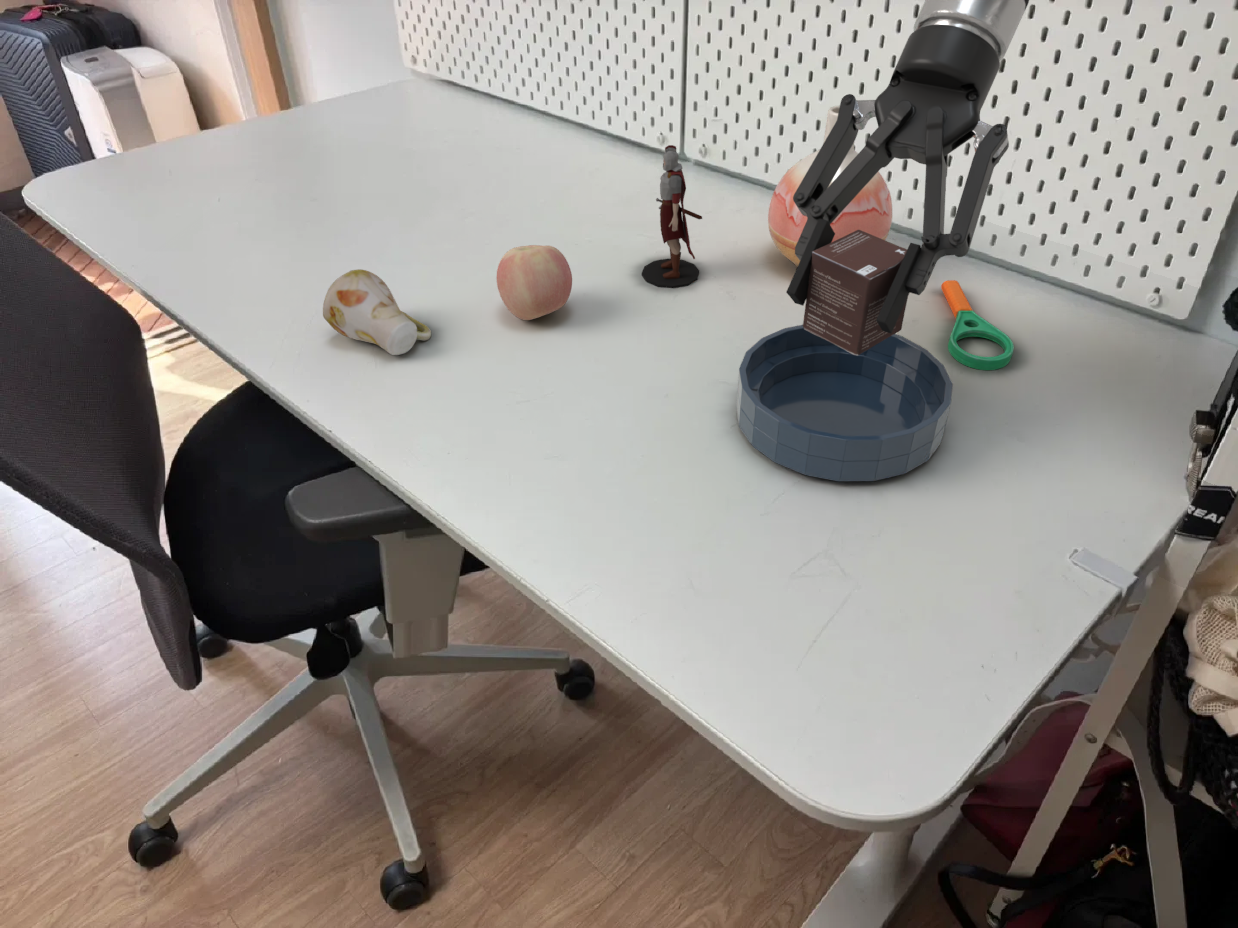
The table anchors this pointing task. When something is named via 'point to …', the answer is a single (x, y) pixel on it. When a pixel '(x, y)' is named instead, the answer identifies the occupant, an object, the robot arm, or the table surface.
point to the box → (852, 290)
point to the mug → (370, 313)
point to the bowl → (842, 405)
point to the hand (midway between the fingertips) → (838, 312)
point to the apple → (534, 280)
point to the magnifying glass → (973, 331)
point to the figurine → (672, 229)
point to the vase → (860, 214)
